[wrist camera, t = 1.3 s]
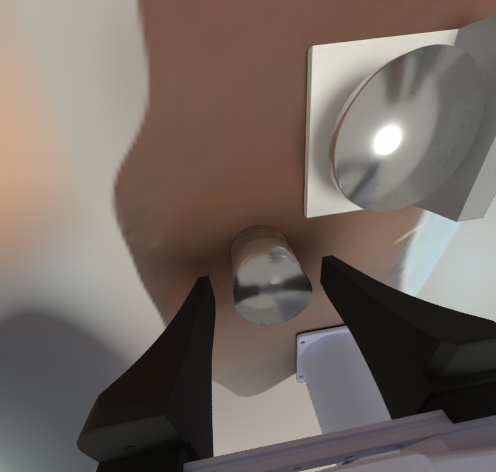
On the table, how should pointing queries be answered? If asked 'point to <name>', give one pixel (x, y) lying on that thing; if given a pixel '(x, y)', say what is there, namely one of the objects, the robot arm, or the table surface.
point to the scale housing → (348, 79)
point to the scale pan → (407, 128)
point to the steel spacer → (267, 277)
